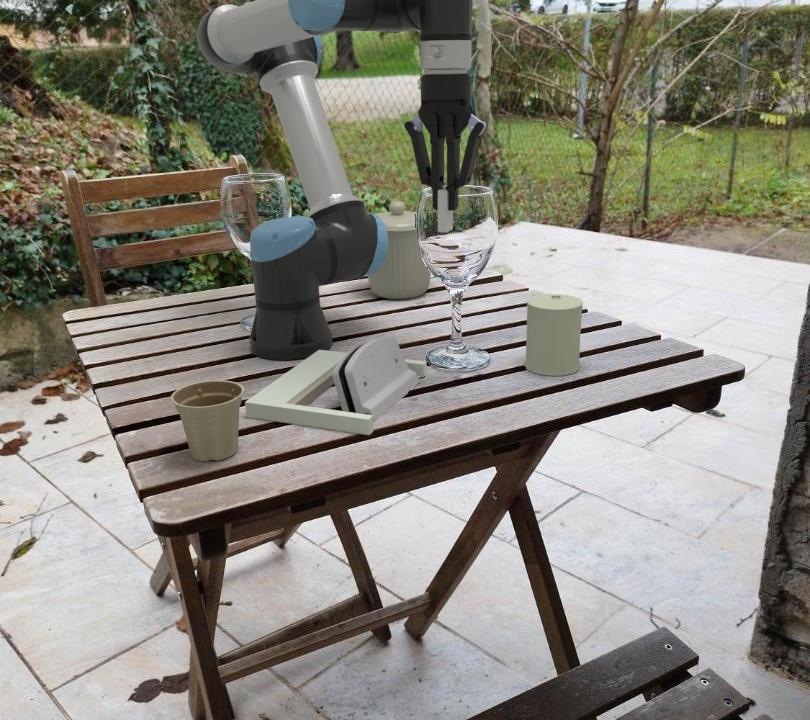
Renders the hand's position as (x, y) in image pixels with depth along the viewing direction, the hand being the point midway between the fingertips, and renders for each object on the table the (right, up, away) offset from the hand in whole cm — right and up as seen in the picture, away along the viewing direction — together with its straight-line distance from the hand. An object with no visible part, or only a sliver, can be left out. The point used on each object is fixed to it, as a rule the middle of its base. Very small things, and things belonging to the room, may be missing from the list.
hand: (445, 230), depth 122 cm
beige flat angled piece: (-16, -26, -1) cm, 31 cm away
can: (+19, -22, +8) cm, 30 cm away
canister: (-8, -6, +54) cm, 55 cm away
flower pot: (-32, -33, -18) cm, 50 cm away
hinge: (-11, -27, -2) cm, 29 cm away
